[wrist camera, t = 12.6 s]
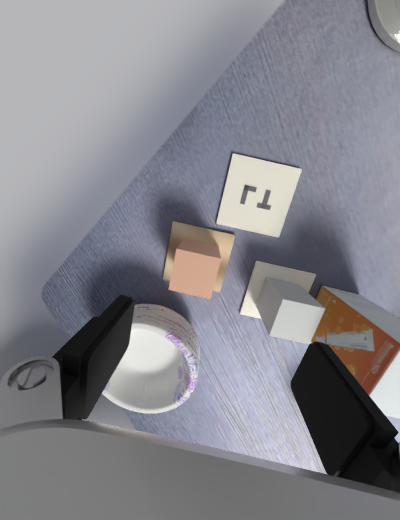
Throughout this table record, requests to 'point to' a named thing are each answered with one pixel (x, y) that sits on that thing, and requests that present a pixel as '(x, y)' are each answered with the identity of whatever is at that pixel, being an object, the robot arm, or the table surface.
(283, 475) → the robot arm
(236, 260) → the table surface
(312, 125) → the table surface
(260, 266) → the tile
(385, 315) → the small box
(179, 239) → the cork mat
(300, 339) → the grey block
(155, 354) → the paper bowls
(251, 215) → the white square slab
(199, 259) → the terracotta block
